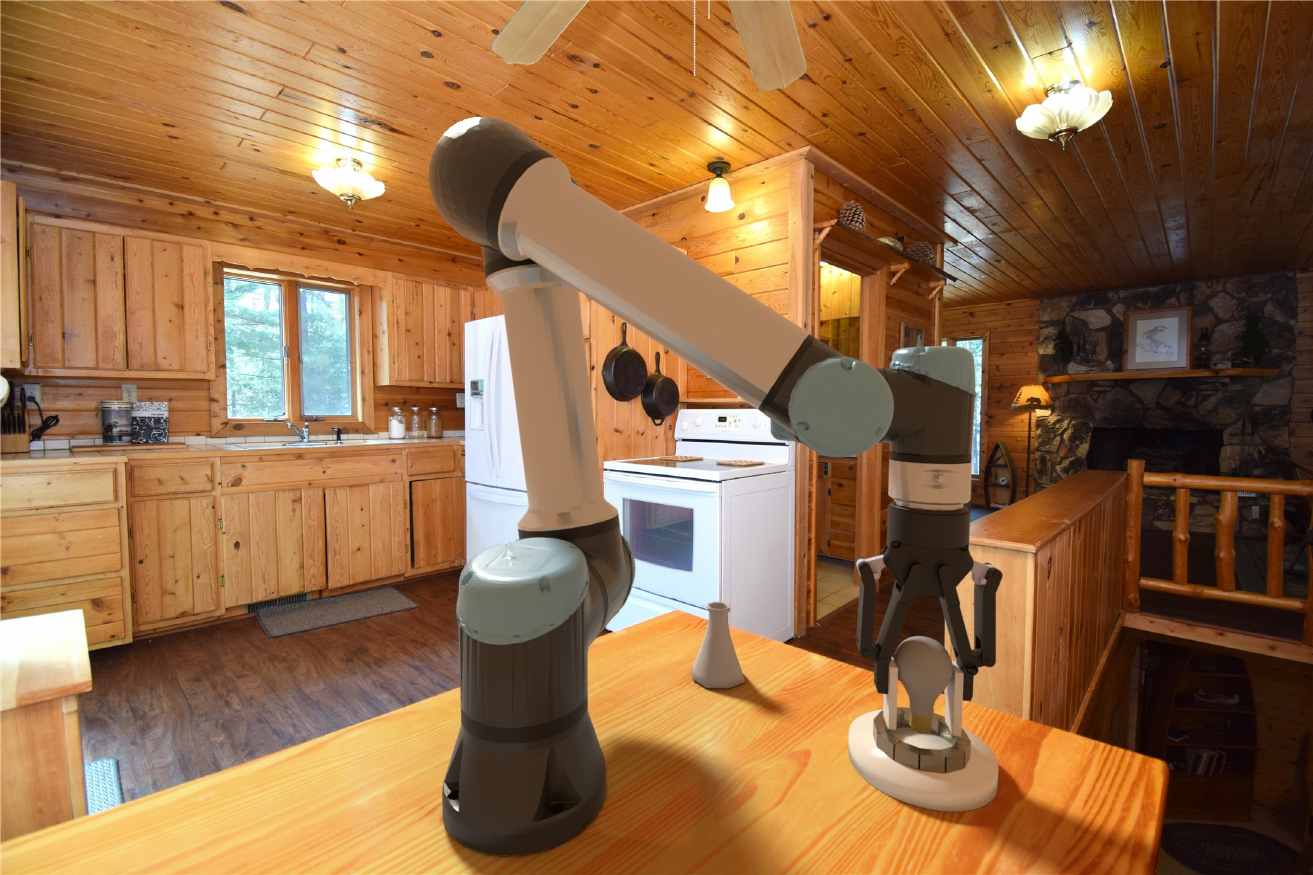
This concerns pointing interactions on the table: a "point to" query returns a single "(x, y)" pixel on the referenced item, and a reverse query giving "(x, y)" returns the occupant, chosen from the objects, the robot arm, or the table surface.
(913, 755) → the socket collar
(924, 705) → the light bulb
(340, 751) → the table surface
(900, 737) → the socket base
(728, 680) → the flask
